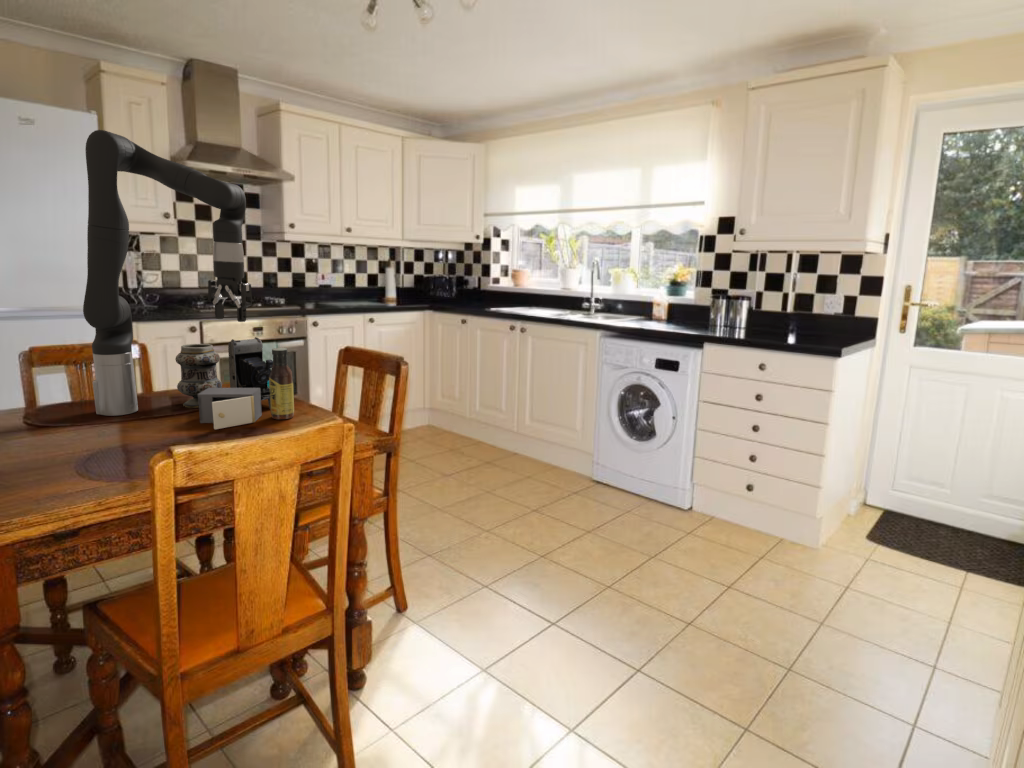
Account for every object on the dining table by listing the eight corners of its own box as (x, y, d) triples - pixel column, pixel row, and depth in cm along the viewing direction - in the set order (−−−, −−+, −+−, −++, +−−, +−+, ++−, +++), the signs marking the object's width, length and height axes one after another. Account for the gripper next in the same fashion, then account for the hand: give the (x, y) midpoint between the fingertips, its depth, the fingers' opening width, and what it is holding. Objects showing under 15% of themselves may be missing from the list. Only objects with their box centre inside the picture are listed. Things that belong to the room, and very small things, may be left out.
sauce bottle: (270, 415, 174) (266, 347, 170) (293, 413, 177) (290, 346, 172) (271, 421, 168) (267, 350, 164) (295, 419, 171) (292, 349, 166)
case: (200, 423, 165) (197, 394, 163) (210, 415, 173) (208, 387, 171) (254, 422, 167) (252, 394, 165) (261, 414, 175) (260, 387, 173)
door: (216, 430, 158) (214, 403, 156) (213, 428, 159) (211, 402, 157) (257, 422, 165) (255, 397, 164) (254, 421, 167) (252, 395, 165)
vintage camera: (257, 413, 177) (255, 346, 173) (229, 403, 186) (227, 338, 182) (286, 408, 185) (285, 343, 180) (258, 398, 194) (257, 336, 189)
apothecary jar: (230, 399, 191) (225, 342, 187) (212, 409, 179) (208, 348, 175) (190, 398, 190) (185, 341, 186) (170, 408, 178) (165, 348, 174)
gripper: (259, 261, 164) (260, 321, 167) (222, 258, 170) (224, 316, 173) (235, 261, 157) (237, 323, 160) (198, 258, 163) (200, 318, 166)
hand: (230, 320), depth 167 cm, fingers open, 8 cm apart
